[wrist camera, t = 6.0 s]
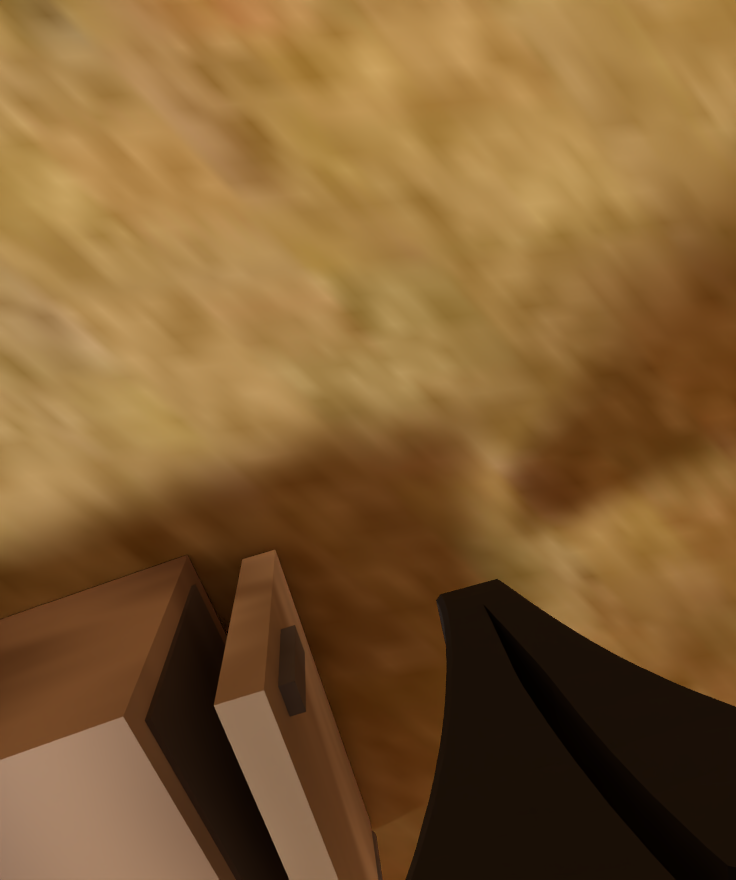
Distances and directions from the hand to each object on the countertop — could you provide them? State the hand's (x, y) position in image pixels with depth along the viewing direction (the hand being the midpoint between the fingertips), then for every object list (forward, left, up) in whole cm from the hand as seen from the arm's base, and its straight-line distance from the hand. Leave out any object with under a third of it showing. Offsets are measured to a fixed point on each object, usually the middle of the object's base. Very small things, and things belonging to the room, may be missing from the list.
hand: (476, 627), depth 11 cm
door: (-4, -3, -2) cm, 6 cm away
